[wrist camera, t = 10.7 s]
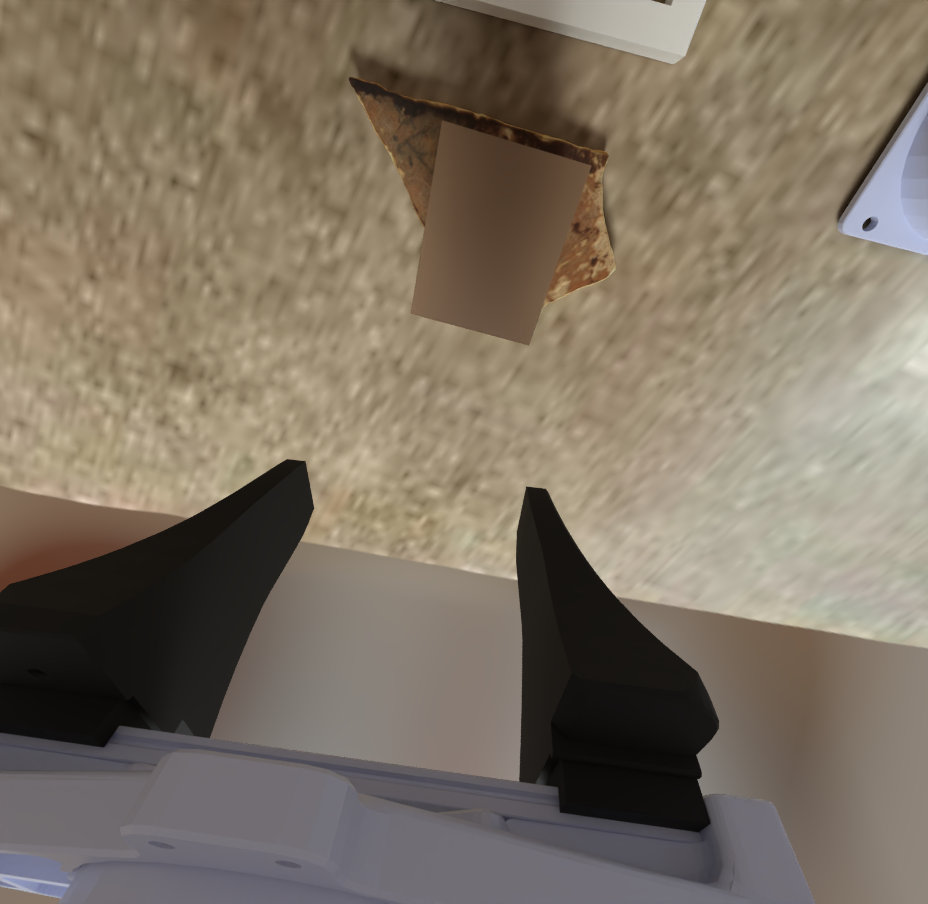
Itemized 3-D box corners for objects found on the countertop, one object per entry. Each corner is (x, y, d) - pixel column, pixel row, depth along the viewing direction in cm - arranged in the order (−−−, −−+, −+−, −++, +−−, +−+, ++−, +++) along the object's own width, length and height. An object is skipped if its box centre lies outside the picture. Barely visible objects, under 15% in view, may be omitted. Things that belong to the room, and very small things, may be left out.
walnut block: (564, 166, 16) (591, 165, 11) (522, 297, 18) (529, 345, 13) (462, 135, 15) (442, 120, 10) (436, 273, 18) (410, 313, 13)
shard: (359, 85, 16) (344, 76, 15) (541, -61, 14) (545, -89, 12) (481, 329, 21) (479, 341, 20) (630, 256, 19) (641, 263, 17)
